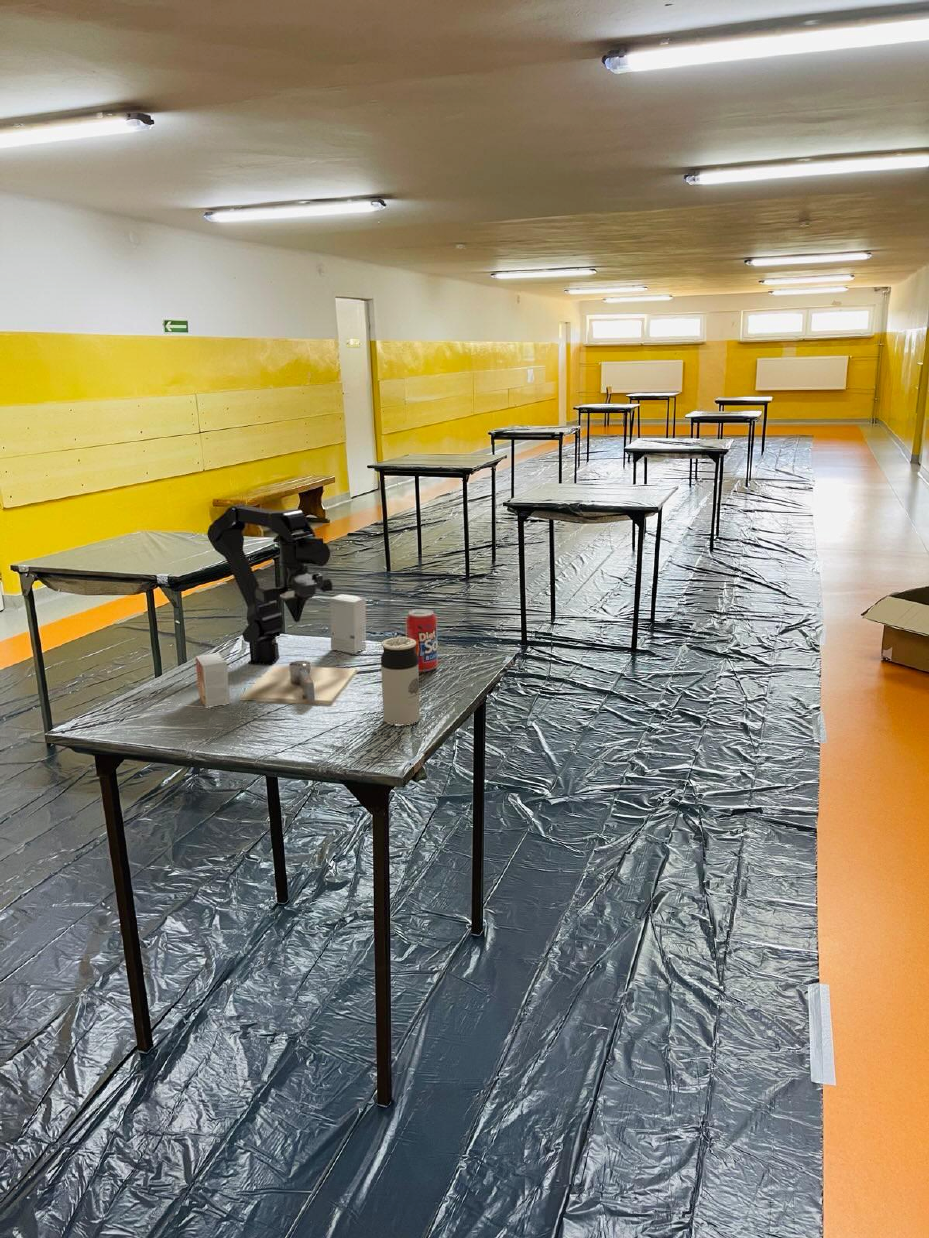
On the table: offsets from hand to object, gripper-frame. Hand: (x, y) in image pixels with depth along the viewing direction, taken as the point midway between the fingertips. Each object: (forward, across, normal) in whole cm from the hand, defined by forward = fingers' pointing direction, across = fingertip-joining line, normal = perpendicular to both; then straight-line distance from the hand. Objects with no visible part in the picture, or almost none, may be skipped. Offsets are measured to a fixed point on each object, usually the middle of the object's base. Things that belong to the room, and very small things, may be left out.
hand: (296, 621), depth 220 cm
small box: (+13, -26, -7) cm, 30 cm away
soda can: (+13, +25, -18) cm, 34 cm away
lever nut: (+12, -6, -15) cm, 20 cm away
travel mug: (+13, +3, -44) cm, 46 cm away
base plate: (+13, -5, -11) cm, 18 cm away
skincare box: (+13, +18, +7) cm, 24 cm away
